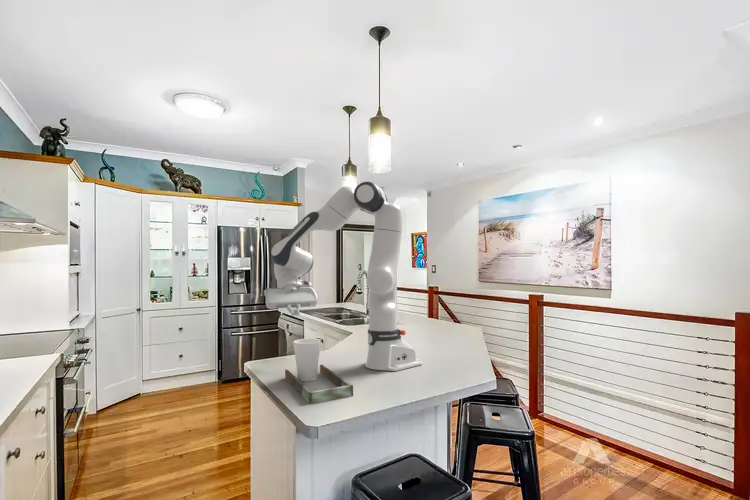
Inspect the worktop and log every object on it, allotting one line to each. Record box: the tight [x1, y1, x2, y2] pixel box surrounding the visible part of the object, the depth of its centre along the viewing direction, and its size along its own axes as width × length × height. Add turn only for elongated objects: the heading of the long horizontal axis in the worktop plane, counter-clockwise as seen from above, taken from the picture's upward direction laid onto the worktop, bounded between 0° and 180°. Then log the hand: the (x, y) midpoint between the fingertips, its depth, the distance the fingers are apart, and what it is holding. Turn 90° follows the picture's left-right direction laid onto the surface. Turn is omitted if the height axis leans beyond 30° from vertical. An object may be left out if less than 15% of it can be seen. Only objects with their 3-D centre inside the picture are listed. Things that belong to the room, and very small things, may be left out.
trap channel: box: [284, 364, 354, 405], centre depth 123 cm, size 14×28×3 cm, turn 28°
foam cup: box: [292, 337, 322, 382], centre depth 132 cm, size 10×9×13 cm
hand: (295, 314), depth 145 cm, fingers closed
